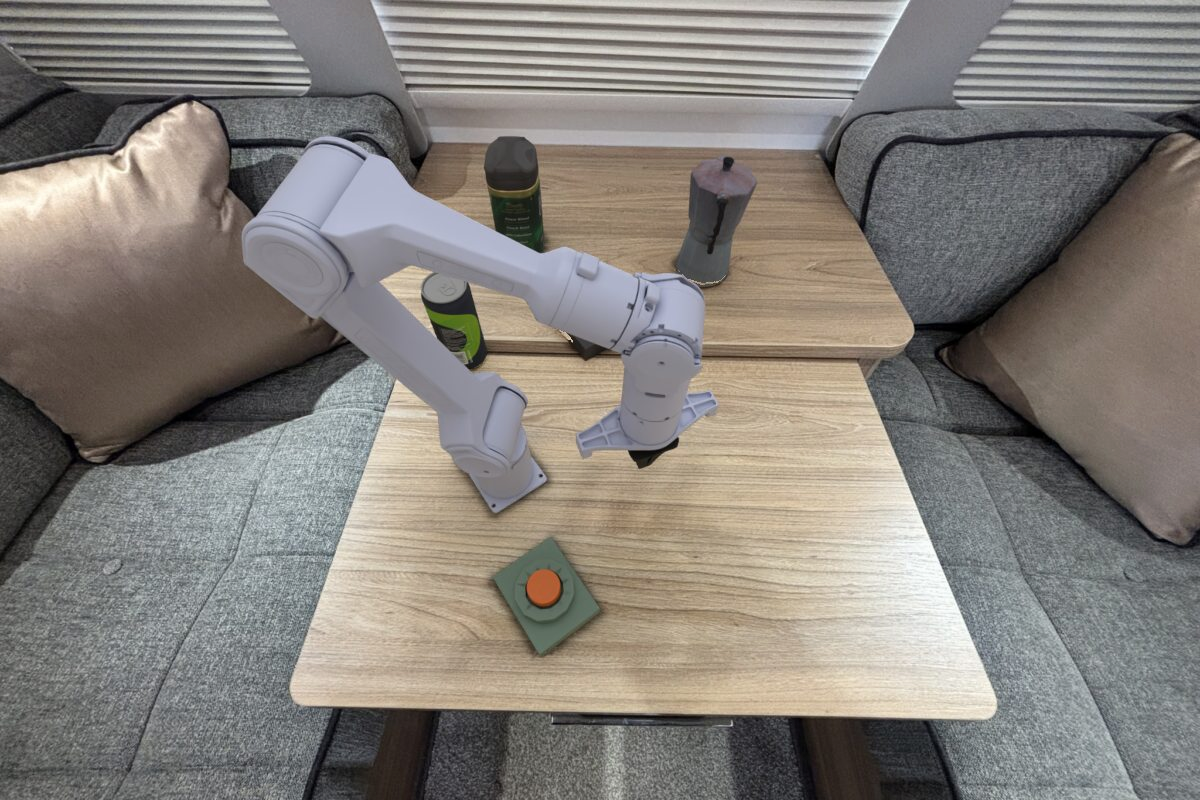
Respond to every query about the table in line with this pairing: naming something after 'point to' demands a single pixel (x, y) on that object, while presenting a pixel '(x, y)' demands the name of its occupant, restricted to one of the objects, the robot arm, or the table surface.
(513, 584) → the base
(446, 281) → the beverage can
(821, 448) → the table surface
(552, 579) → the power button
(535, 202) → the coffee jar
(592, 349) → the dial panel
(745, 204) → the moka pot
